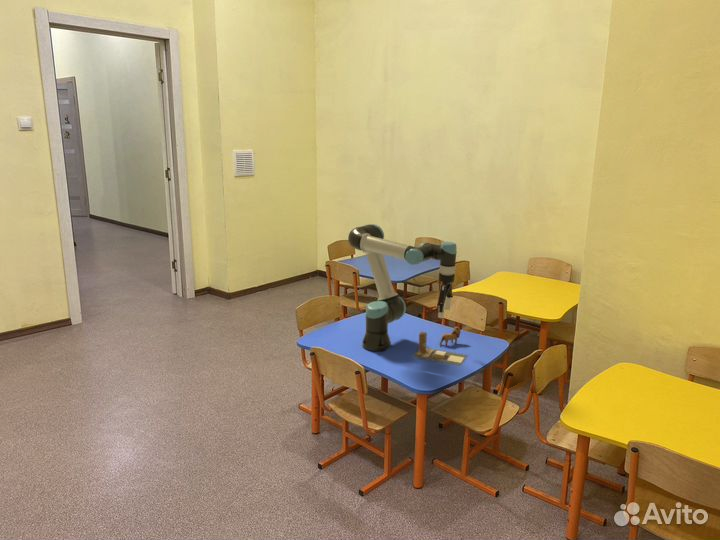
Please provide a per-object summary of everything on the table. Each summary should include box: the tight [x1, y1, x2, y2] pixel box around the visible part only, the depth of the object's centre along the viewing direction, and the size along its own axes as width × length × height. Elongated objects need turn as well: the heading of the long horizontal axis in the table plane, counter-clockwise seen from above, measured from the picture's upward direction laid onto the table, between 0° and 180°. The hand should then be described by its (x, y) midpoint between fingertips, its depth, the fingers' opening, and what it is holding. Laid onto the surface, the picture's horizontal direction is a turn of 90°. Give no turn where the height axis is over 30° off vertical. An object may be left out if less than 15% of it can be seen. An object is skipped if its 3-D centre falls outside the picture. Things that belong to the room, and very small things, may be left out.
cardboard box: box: [417, 331, 433, 358], centre depth 273 cm, size 6×9×11 cm, turn 155°
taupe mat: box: [412, 347, 469, 367], centre depth 271 cm, size 25×14×1 cm, turn 65°
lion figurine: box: [439, 326, 461, 348], centre depth 286 cm, size 15×5×9 cm, turn 130°
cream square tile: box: [434, 350, 448, 359], centre depth 271 cm, size 5×5×2 cm
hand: (444, 313), depth 271 cm, fingers open, 13 cm apart
